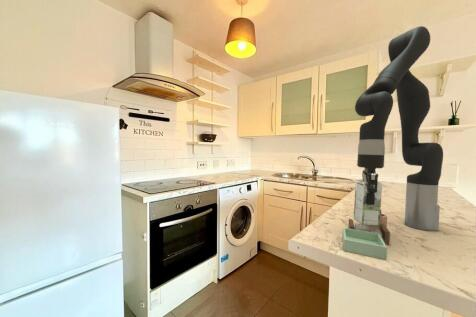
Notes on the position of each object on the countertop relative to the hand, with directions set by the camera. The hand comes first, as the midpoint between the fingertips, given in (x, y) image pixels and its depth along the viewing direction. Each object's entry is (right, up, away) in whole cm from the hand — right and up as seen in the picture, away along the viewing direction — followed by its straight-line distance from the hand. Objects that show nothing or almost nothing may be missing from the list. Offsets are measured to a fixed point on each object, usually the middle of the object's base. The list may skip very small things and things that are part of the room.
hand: (368, 201), depth 68 cm
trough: (-7, -12, -7) cm, 16 cm away
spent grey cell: (+7, -12, +7) cm, 16 cm away
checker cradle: (0, -12, 0) cm, 12 cm away
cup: (+7, -12, +7) cm, 16 cm away
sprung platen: (0, -10, 0) cm, 10 cm away
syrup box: (-1, -8, 0) cm, 8 cm away
